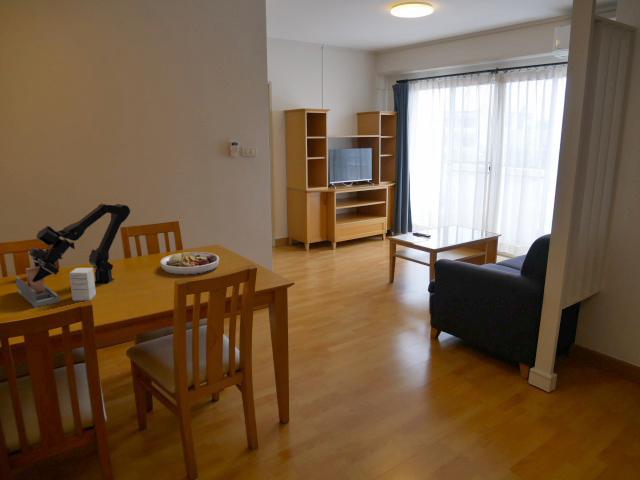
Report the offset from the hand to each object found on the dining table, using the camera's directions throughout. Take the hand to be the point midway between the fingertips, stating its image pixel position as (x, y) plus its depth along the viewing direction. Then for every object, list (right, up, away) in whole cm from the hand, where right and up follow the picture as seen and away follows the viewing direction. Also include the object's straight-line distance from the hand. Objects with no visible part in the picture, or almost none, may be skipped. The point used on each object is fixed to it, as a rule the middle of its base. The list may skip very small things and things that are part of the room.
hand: (31, 280), depth 198 cm
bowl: (+55, +2, +48) cm, 73 cm away
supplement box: (+22, -8, +2) cm, 23 cm away
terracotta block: (+1, -5, +2) cm, 5 cm away
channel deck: (+1, -7, +3) cm, 8 cm away
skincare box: (-13, -1, +30) cm, 33 cm away
